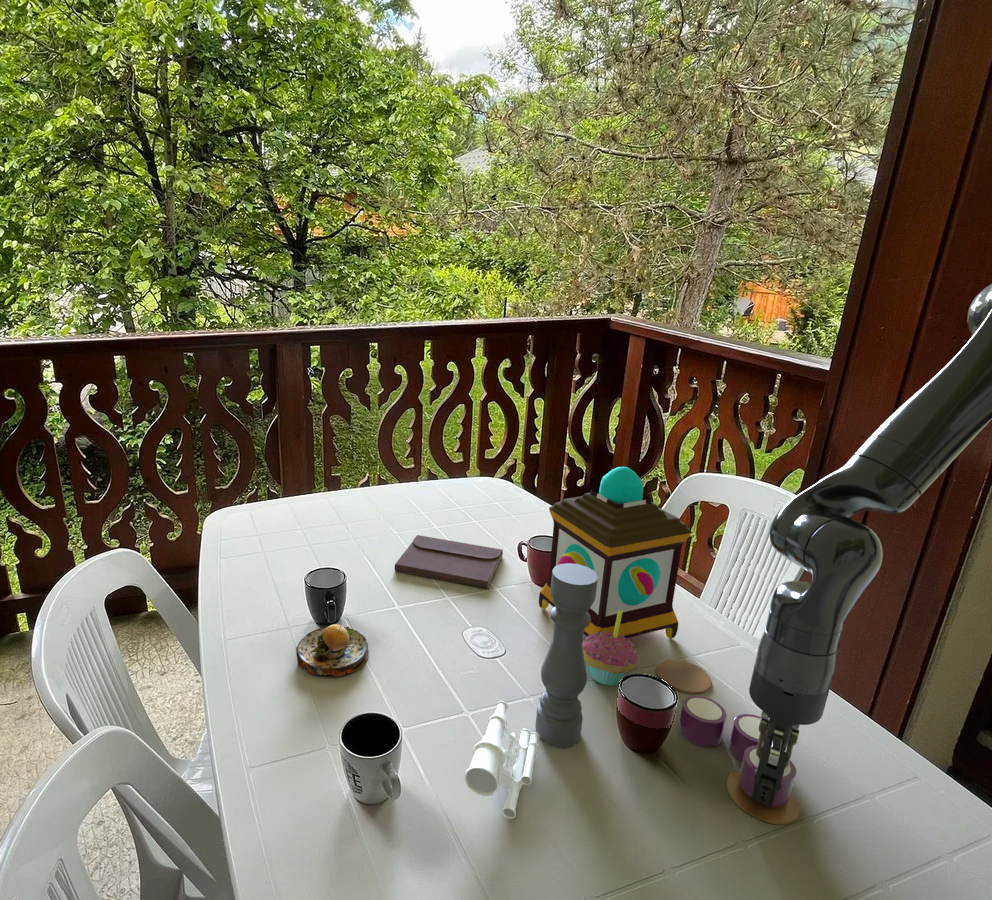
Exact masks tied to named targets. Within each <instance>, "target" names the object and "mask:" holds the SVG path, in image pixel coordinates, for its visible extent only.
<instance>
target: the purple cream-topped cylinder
mask: <svg viewBox="0 0 992 900" xmlns="http://www.w3.org/2000/svg"><path fill="white" fill-rule="evenodd" d="M727 716H728V715H727V710H725V708H724V707H723V706H722V705H721V704H720V702H719V703H718V702H717V701H715V700H714V699H712V698H710V697H706V696H703V695H688V696H686V697H685V698H684V699H683V700H682V703H681V707H680V714H679V720H678V725H677V726H678V730H679V733H680V734H681V735H682V736H683V737H684V738H685V739H686V740H688V741H690V743H692V744H695V745H697V746H699V747H700V746H701V747H704V748H705V747H706V748H713V747H716V746H719V745H720V744H721V743H722V741H723V736H724V731H725V727H726V722H727Z"/></svg>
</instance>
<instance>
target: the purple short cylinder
mask: <svg viewBox="0 0 992 900" xmlns="http://www.w3.org/2000/svg"><path fill="white" fill-rule="evenodd" d="M762 747H763V746H762ZM756 749H757V745H754V746H750V747H748V748H747V749H746V750H745V751H744V755H743V760H742V761H741V764H740V769H739V770H740V773H739V778H738V780H739V784H740V786H741V788H742V789H743V791H744V792H745V793H746V794H747V795H748V796H750V797H751V798H752V793H753V788H754V784H755V779H754V775H755V774H756V773H755V769H757V767H758V763H759V758H758V757H757V755H756ZM796 776H797V768H796V766H795V764H794V763H793V761H792V760H791V759H790V764H789V766H788V767H787V768H785V770H784V774H783V777H782V782H781V789H779V792H777V791H776V794H775V798H774V802H773V807H780V806H784V805H786V804H787V803H788V802H789V800H790V796H791V792H793V787H794V784H795V780H796Z"/></svg>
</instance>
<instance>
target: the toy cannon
mask: <svg viewBox="0 0 992 900" xmlns="http://www.w3.org/2000/svg"><path fill="white" fill-rule="evenodd" d="M508 707H509V706H508V703H507V702H506V701H504V700H499V701H498V702H497V705H496V709H495V711H494V712H493V713H494V714H492V715H491V716H490V717H489V719H488V726H487V729H486V732H485V734H484V735H483V737H482V739H481V740H480V741H478V742H477V743H475V745H474V747H473V751H472V754H473V757H472V760H471V763H470V765H469V768H467V769H466V771H465V774H464V782H465V785H466V786H467V788H468V789H469V790H471V791H472V792H473V793H475V794H477V795H479V796H482V797H491V796H493V795H495V794H496V793H497V792H498V790H499V786H500V787H503V788H508V791H507V794H506V799H505V802H504V803H505V804H504V806H503V808H502V815H503V817H505V818H506V819H510V820H512V819H515V818H516V816H517V811H516V810H517V806H518V800H519V796H520V791H521V790H522V789H523V785H525V786H530V785H532V783H533V772H534V768H535V767H534V766H535V761H536V756H537V751H538V749H539V740H541V739H540V735H539V734H538V733H537V732H536V731H532V730H530V729H529V728H526V727H525V728H522V729H521V730H520V738H519V741H518V739H517V732H510V730H509V728H507V727H508V723H507V721H506V713H507V709H508ZM503 737H504V738H505V739H506V740H507V741H508V742H509V743H508V748H507V749H505V748H504V747H503V739H504V738H503ZM514 749H515V753H516V755H515V754H514V753H513V751H514ZM510 766H511V767H513V768H512V773H510V771H509V769H510Z"/></svg>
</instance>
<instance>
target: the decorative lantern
mask: <svg viewBox="0 0 992 900" xmlns="http://www.w3.org/2000/svg"><path fill="white" fill-rule="evenodd" d="M548 511H549V514H550V516H551V518H552V521H553V529H552V538H551V539H552V540H551V549H550V560H549V561H550V562H549V570H548V571H549V572H548V580H547V582H546V583H545V584H544V586H543V587H542V588H541V590H540V592H539V595H538V605H539V608H540V609H542V610H546V609H547V608H548V606H549V605H550V606H551V607H552V608H553V607H555V604H554V602H553V600H552V596H551V592H550V590H551V580H552V570H553V569H554V567H555V566H557V565H560V564H566V563H572V564H579V565H583V566H586V567H588V568H590V569H592V570H593V571H594V572H595V573H597V576H598V581H597V589H596V598H595V601H594V602H593V604H592V606H591V608H590V609H588V611H587V612H588V613H589V614H590V617H591V622H590V623H589V625H588V626H587V627H585V629H584V635H583V636H585V637H586V638H587V637H588V636H590V634H593V633H595V632H600V631H601V632H602V631H605V632H614V629H615V624H616V619H617V614H618V610H620V608H621V606H622V610H621V611H622V617H621V622H620V627H619V632H618V634H621V635H622V636H625V638H627V639H630V638H634V637H638V636H641V635H645V634H650V633H653V632H654V633H655V632H658V631H661V630H665V636H666V637H667V638H668V639H675V637H676V636H677V634H678V629H679V620H678V618H677V615H676V613H675V611H674V607H673V603H674V597H675V591H676V585H677V579H678V573H679V566H680V560H681V555H682V548H683V546H684V543H685V542H687V540H688V539H689V538H690V536H691V534H692V529H690V528H689V527H688V525H687V524H686V523H685V522H683V521H681V520H680V518H679V517H678V516H676V515H674V514H672V513H670V512H668V511H666V510H664V509H662V508H660V507H658V505H657V504H656V503H654V502H652V498H651V497H649V496H647V495H645V494H644V482H643V480H642V479H641V478H640V477H639V476H638V474H637V473H636V472H635V471H634V470H632V469H631V468H630V467H627V466H618V467H615V468H613V469H611V470H610V471H608V473H606V474H605V475H603V476H602V478H601V481H600V485H599V487H597V488H592V489H591V490H590V492H587V493H586V492H585V493H584V494H583V495H581V496H575V497H570V498H569V497H568V498H564V499H562V500H561V501H557V502H555V503H554V504H553V505H551V506H549V507H548Z"/></svg>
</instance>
